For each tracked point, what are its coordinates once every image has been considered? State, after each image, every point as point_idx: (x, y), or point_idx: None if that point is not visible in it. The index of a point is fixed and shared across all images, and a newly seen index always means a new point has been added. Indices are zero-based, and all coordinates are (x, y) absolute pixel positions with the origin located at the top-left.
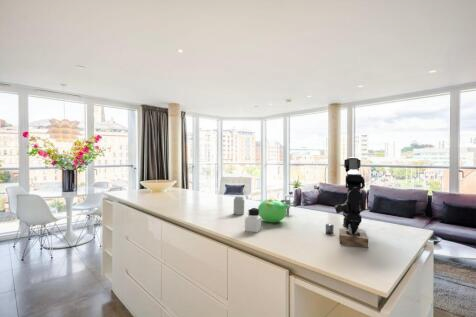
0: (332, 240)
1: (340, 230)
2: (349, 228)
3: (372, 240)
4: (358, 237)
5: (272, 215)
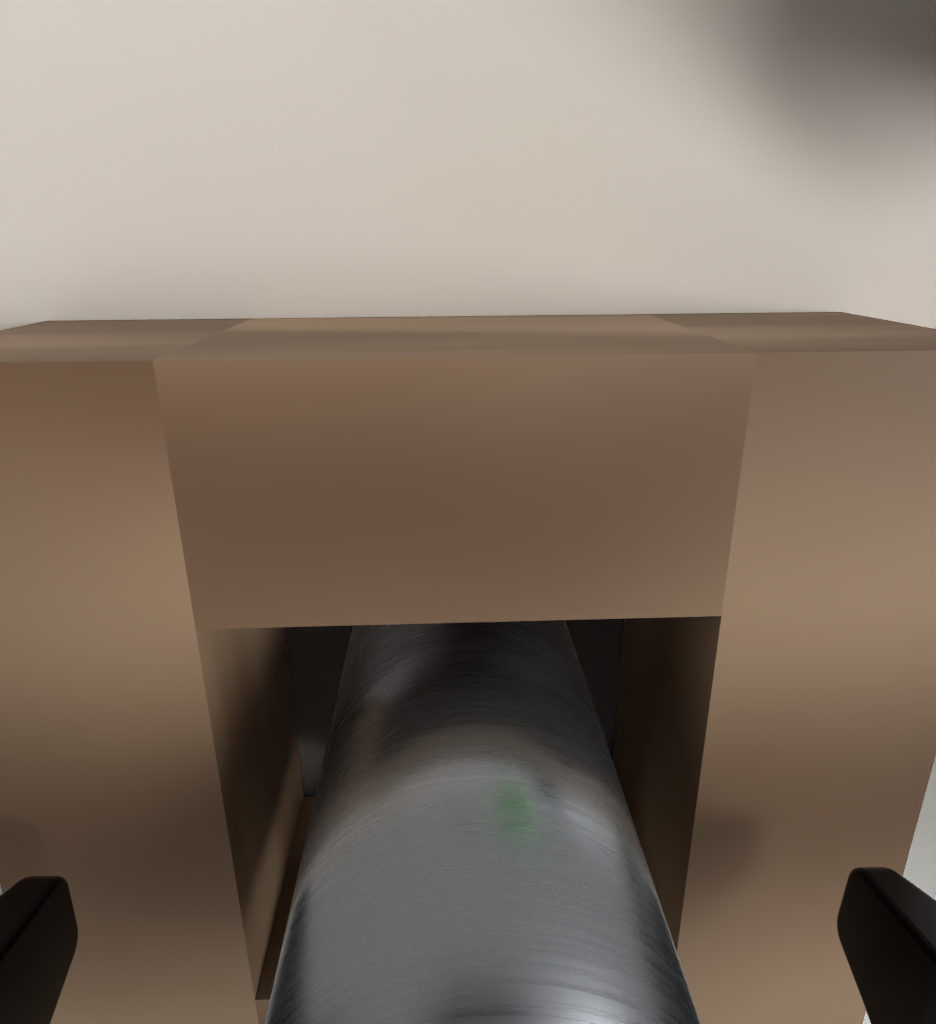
0: (260, 70)
1: (694, 392)
2: (340, 900)
3: None
4: None
5: None
